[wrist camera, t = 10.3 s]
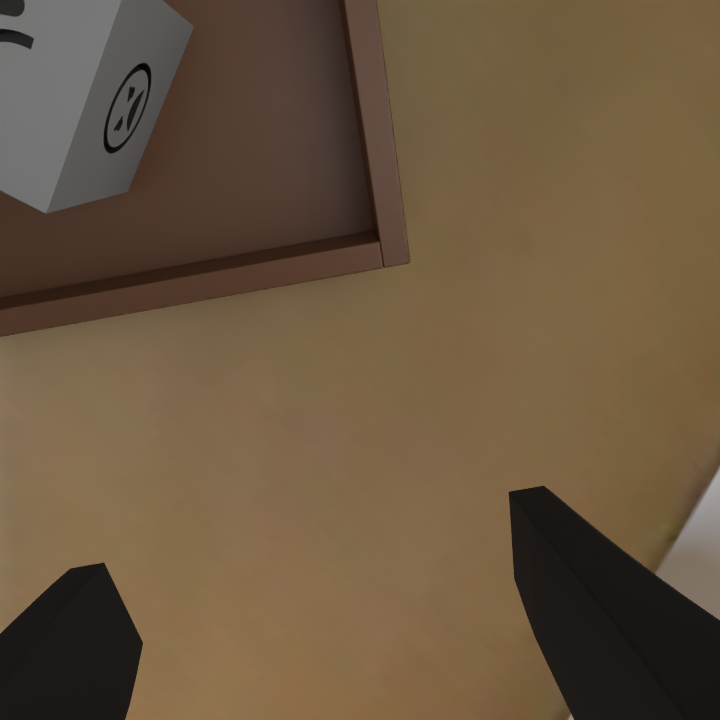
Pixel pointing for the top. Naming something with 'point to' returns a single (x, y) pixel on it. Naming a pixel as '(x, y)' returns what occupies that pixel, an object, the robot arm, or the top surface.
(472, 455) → the top surface
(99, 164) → the dice cube
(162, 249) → the tray
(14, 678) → the robot arm
